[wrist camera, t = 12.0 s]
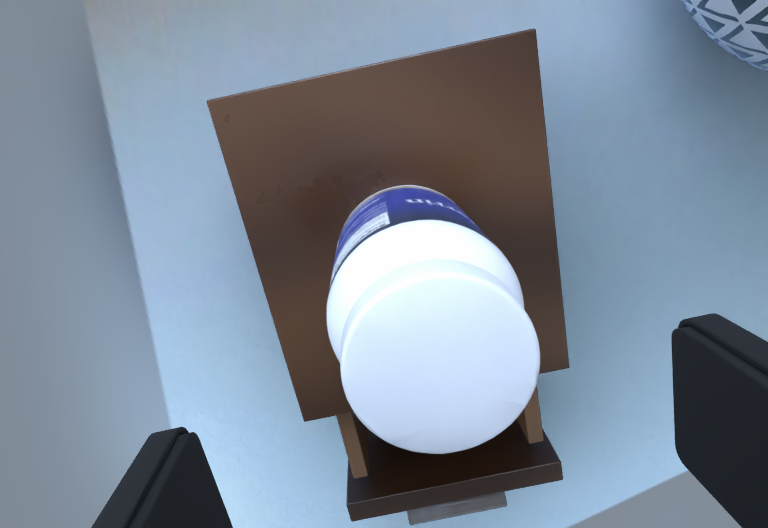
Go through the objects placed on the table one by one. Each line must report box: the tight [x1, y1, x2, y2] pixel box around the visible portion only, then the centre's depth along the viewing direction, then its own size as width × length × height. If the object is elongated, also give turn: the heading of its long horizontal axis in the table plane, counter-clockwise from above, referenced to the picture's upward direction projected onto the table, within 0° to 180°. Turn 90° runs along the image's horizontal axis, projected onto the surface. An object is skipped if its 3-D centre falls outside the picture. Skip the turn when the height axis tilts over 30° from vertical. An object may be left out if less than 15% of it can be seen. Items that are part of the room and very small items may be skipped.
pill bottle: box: [327, 185, 540, 454], centre depth 16 cm, size 6×6×10 cm
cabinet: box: [207, 29, 569, 422], centre depth 25 cm, size 15×13×10 cm
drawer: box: [336, 384, 563, 525], centre depth 28 cm, size 18×11×8 cm, turn 12°
